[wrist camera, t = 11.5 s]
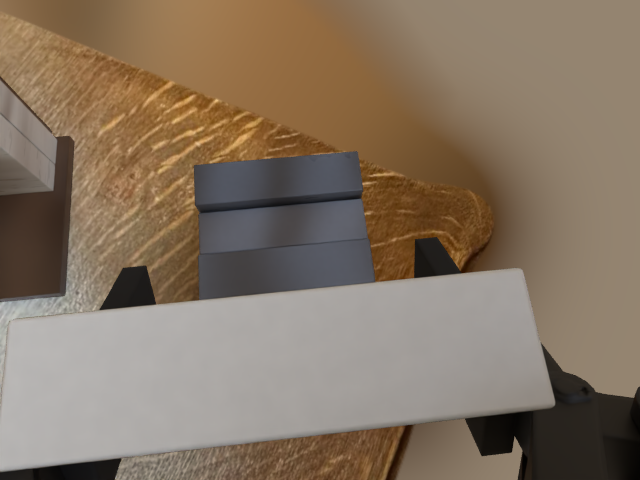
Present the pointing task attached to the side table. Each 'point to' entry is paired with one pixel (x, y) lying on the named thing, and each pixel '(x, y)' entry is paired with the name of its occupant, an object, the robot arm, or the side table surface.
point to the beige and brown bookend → (32, 202)
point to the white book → (268, 368)
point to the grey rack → (281, 225)
